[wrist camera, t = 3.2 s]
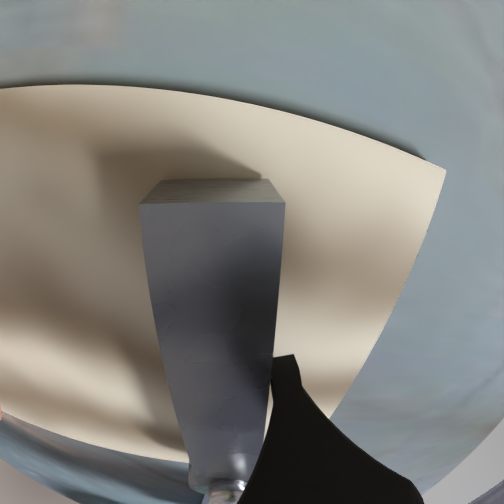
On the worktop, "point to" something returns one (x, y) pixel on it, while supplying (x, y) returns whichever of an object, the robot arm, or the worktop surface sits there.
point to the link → (216, 317)
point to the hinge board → (132, 256)
